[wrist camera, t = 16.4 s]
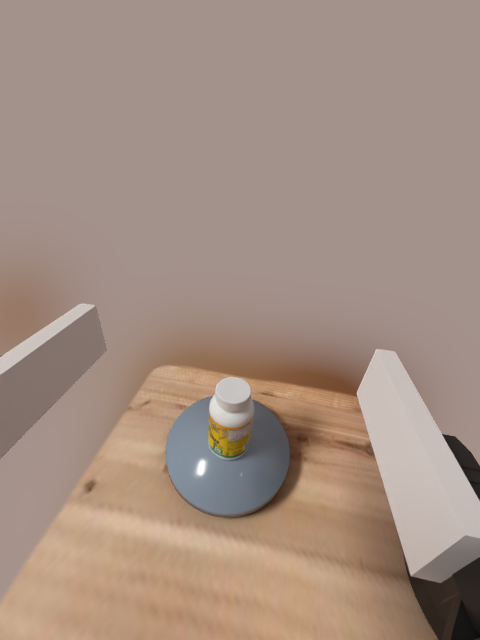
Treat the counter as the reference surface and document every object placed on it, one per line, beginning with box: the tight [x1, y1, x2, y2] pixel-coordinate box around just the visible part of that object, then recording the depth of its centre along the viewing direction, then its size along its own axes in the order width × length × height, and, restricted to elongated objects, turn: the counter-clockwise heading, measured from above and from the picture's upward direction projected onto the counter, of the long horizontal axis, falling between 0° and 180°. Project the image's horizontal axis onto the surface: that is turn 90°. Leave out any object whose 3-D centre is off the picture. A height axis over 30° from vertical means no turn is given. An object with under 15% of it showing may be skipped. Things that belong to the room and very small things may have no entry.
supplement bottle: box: [208, 377, 254, 460], centre depth 31 cm, size 5×5×10 cm
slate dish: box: [166, 396, 290, 518], centre depth 34 cm, size 16×16×2 cm
